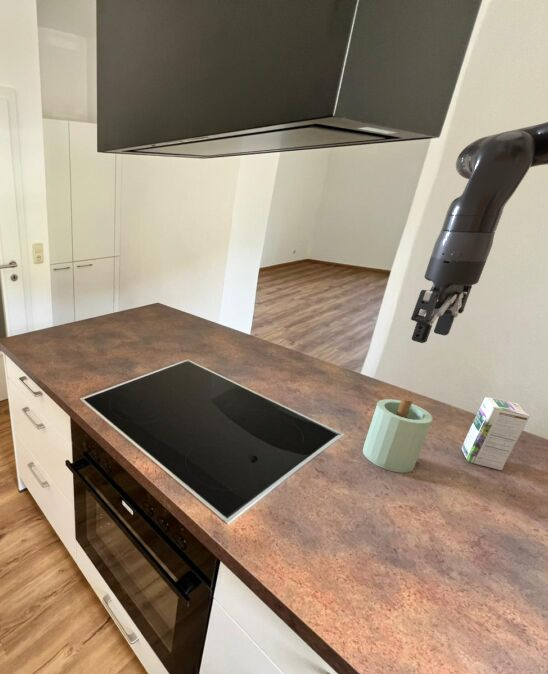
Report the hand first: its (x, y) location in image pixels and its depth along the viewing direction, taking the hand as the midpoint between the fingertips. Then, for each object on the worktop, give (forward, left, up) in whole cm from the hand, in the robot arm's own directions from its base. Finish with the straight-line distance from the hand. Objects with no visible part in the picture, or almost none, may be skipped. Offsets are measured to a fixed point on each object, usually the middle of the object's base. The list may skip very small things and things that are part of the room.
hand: (429, 337), depth 72 cm
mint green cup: (0, 0, -30) cm, 30 cm away
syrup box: (-20, -6, -30) cm, 37 cm away
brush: (0, 0, -29) cm, 29 cm away
